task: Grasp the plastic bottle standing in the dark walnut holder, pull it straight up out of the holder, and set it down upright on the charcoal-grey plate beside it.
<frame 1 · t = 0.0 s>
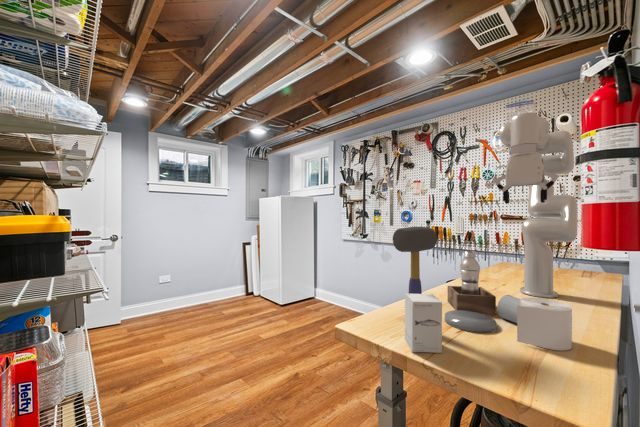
hand: (524, 202, 93), 37 cm above the table, tool pointing down, fingers open, 9 cm apart
ceramic mug: (519, 322, 86), on the table
supplement box: (422, 347, 71), on the table
plastic bottle: (470, 308, 99), resting in holder
toilet tissue: (544, 342, 73), on the table
holder: (470, 307, 99), on the table
plate: (469, 323, 85), on the table
rubber mallet: (415, 327, 83), on the table
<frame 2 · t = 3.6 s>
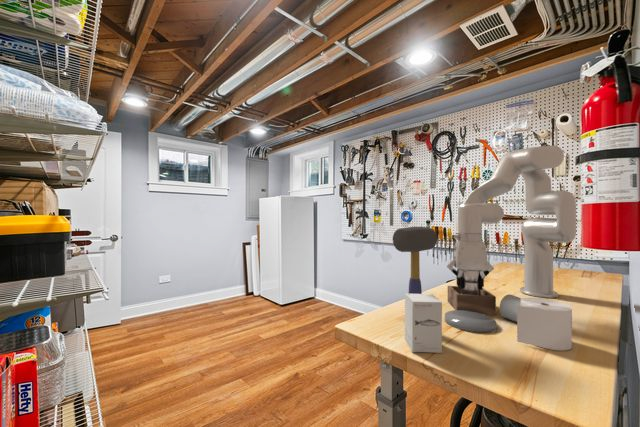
hand: (469, 287, 99), 7 cm above the table, tool pointing down, fingers closed on plastic bottle, 5 cm apart
plastic bottle: (470, 308, 99), resting in holder, touching gripper
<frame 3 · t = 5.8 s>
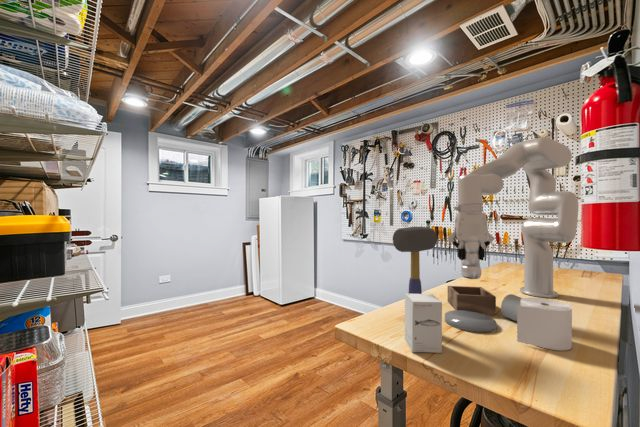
hand: (470, 259, 99), 17 cm above the table, tool pointing down, fingers closed on plastic bottle, 5 cm apart
plastic bottle: (471, 279, 100), point 10 cm above the table, touching gripper
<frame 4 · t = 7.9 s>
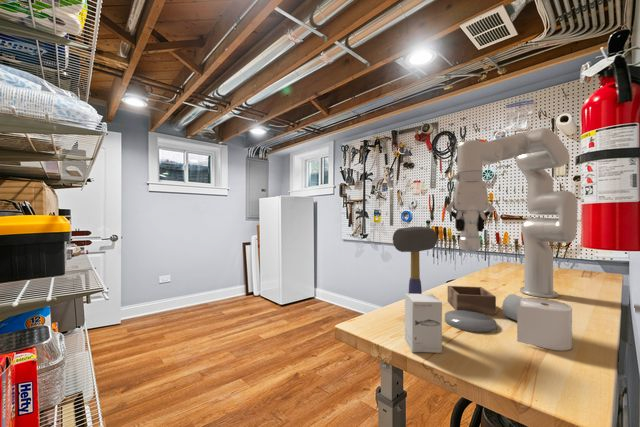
hand: (469, 230, 94), 28 cm above the table, tool pointing down, fingers closed on plastic bottle, 5 cm apart
plastic bottle: (469, 252, 94), point 21 cm above the table, touching gripper
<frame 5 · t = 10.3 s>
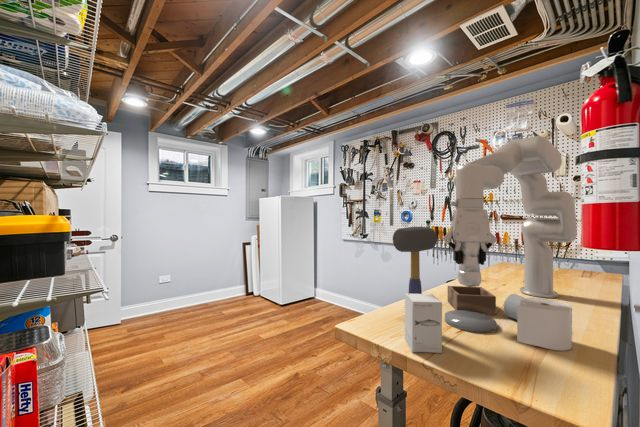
hand: (469, 263, 85), 18 cm above the table, tool pointing down, fingers closed on plastic bottle, 5 cm apart
plastic bottle: (469, 286, 85), point 11 cm above the table, touching gripper
when the fingers open (9 cm above the table, at t = 12.5 s): plastic bottle stays where it is, resting on plate.
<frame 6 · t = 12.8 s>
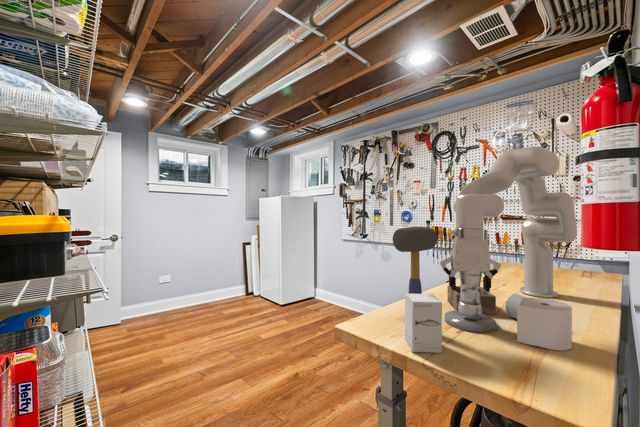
hand: (469, 289, 85), 10 cm above the table, tool pointing down, fingers open, 9 cm apart
plastic bottle: (469, 318, 86), point 1 cm above the table, touching plate
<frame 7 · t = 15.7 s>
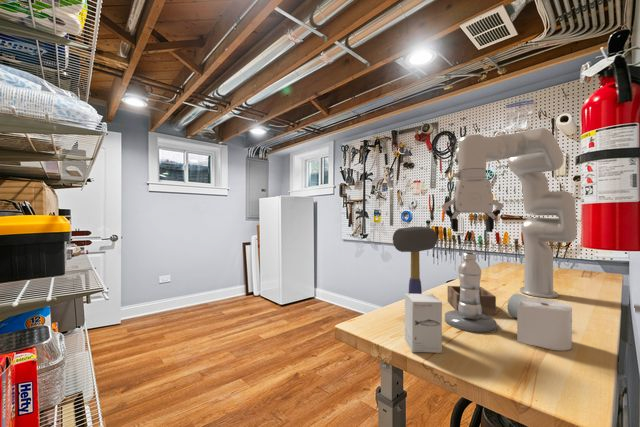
hand: (472, 231, 86), 28 cm above the table, tool pointing down, fingers open, 9 cm apart
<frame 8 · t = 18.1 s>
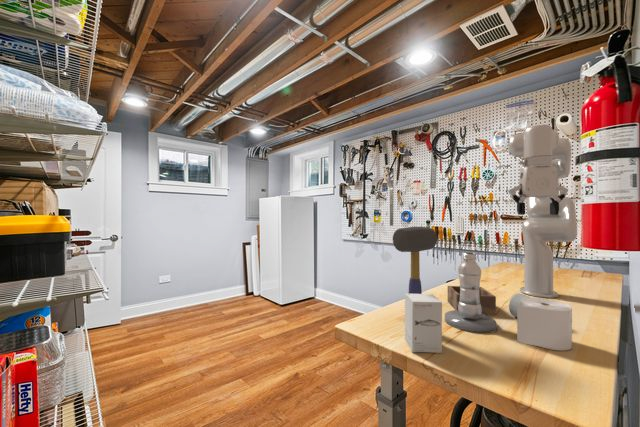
hand: (537, 214, 93), 33 cm above the table, tool pointing down, fingers open, 9 cm apart
at the end: plastic bottle inside the target area on the plate (0.2 cm from its centre), point 1.3 cm above the plate's base; plastic bottle tilted 0°; the gripper is holding nothing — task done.
